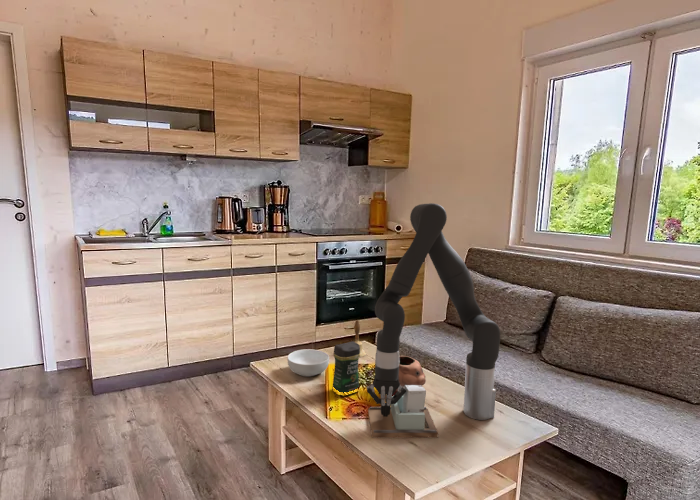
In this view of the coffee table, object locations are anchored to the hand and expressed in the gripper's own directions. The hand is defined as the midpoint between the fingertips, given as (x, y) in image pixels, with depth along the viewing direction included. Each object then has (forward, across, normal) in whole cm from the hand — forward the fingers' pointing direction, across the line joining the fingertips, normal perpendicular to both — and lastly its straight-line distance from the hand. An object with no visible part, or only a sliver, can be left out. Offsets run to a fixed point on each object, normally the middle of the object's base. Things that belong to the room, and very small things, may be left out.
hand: (385, 415), depth 136 cm
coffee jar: (+3, +12, -23) cm, 26 cm away
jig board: (+3, -5, 0) cm, 6 cm away
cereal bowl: (+4, +27, -40) cm, 48 cm away
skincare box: (+3, -9, 0) cm, 9 cm away
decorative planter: (+3, -8, -20) cm, 22 cm away
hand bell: (+3, +6, -61) cm, 61 cm away
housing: (+1, -7, 0) cm, 7 cm away
